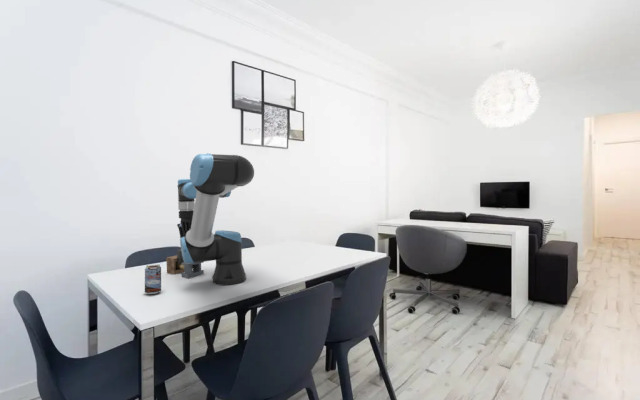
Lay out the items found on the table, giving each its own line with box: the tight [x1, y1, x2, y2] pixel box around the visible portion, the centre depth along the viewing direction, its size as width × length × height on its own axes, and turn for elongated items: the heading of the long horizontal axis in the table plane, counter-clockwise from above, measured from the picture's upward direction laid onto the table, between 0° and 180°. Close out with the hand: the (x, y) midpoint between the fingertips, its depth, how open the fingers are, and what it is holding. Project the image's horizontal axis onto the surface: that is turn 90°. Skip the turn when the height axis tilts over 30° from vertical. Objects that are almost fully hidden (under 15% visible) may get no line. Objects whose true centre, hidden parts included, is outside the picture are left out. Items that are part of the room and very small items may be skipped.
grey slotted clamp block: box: [181, 262, 205, 280], centre depth 164 cm, size 5×9×7 cm, turn 148°
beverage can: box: [144, 263, 162, 295], centre depth 137 cm, size 6×7×12 cm
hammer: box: [175, 249, 193, 269], centre depth 167 cm, size 12×4×10 cm, turn 58°
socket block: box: [165, 255, 184, 275], centre depth 171 cm, size 6×6×8 cm
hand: (188, 257), depth 165 cm, fingers closed
